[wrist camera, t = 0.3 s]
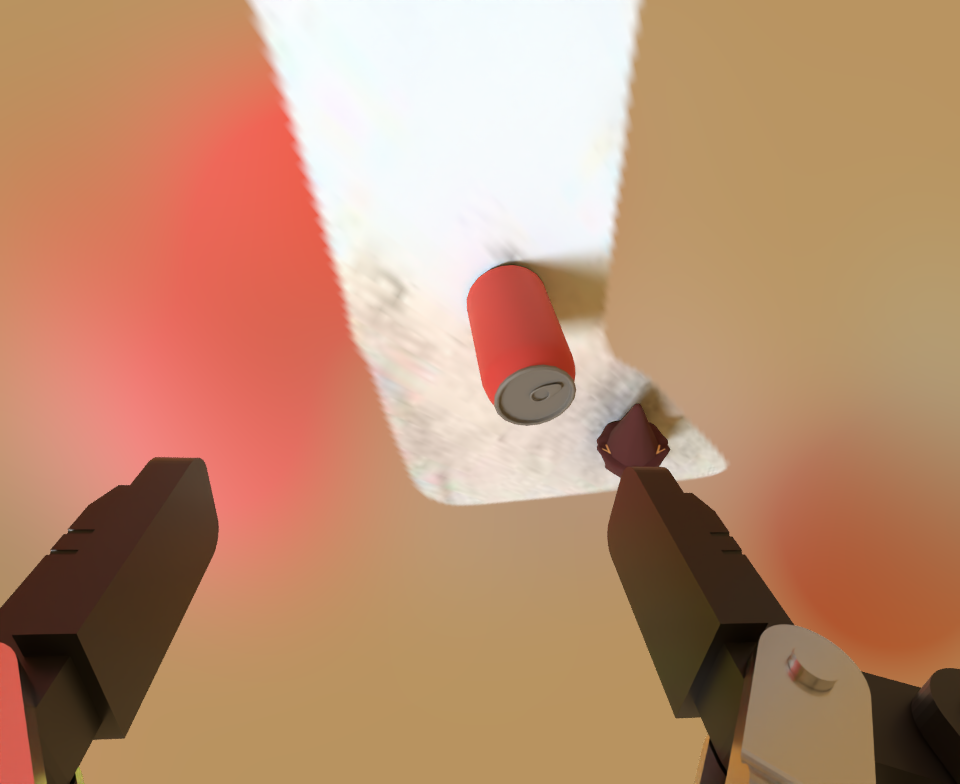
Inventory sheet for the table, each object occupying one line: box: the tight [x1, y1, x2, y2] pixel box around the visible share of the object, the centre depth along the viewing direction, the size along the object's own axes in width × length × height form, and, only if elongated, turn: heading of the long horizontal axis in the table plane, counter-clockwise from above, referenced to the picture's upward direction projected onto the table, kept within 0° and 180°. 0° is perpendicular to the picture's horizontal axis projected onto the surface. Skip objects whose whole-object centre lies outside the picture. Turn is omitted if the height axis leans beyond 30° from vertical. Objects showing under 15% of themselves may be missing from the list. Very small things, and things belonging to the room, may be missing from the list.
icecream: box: [597, 404, 670, 478], centre depth 55 cm, size 7×7×15 cm
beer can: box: [467, 265, 576, 426], centre depth 38 cm, size 7×7×12 cm
